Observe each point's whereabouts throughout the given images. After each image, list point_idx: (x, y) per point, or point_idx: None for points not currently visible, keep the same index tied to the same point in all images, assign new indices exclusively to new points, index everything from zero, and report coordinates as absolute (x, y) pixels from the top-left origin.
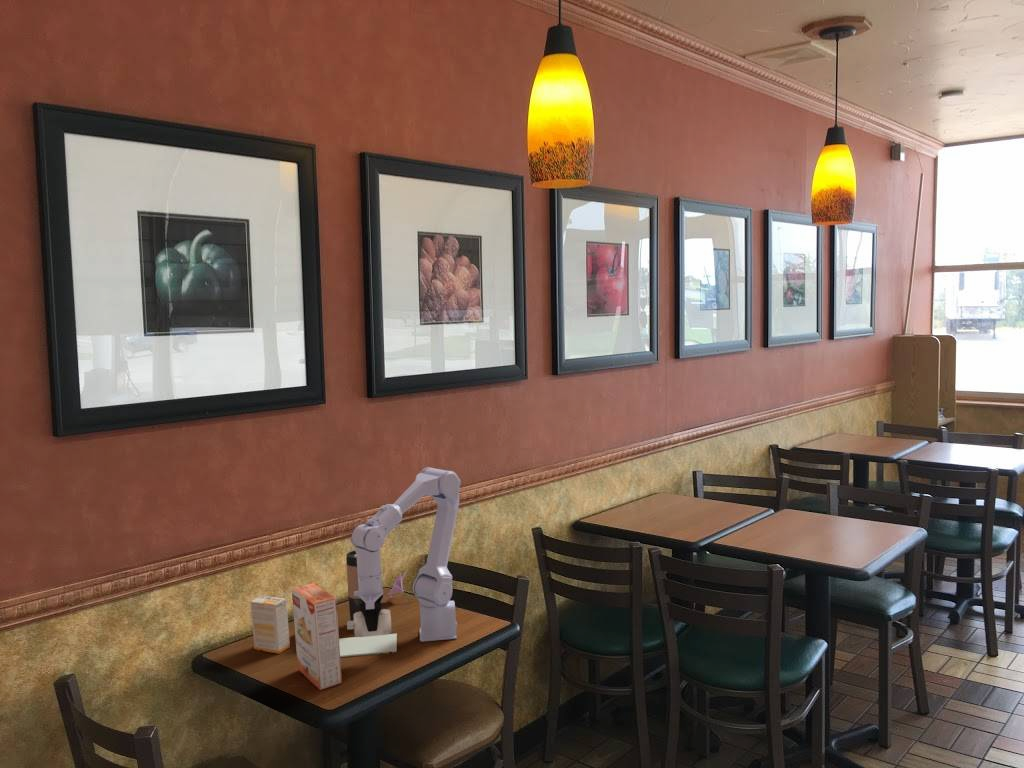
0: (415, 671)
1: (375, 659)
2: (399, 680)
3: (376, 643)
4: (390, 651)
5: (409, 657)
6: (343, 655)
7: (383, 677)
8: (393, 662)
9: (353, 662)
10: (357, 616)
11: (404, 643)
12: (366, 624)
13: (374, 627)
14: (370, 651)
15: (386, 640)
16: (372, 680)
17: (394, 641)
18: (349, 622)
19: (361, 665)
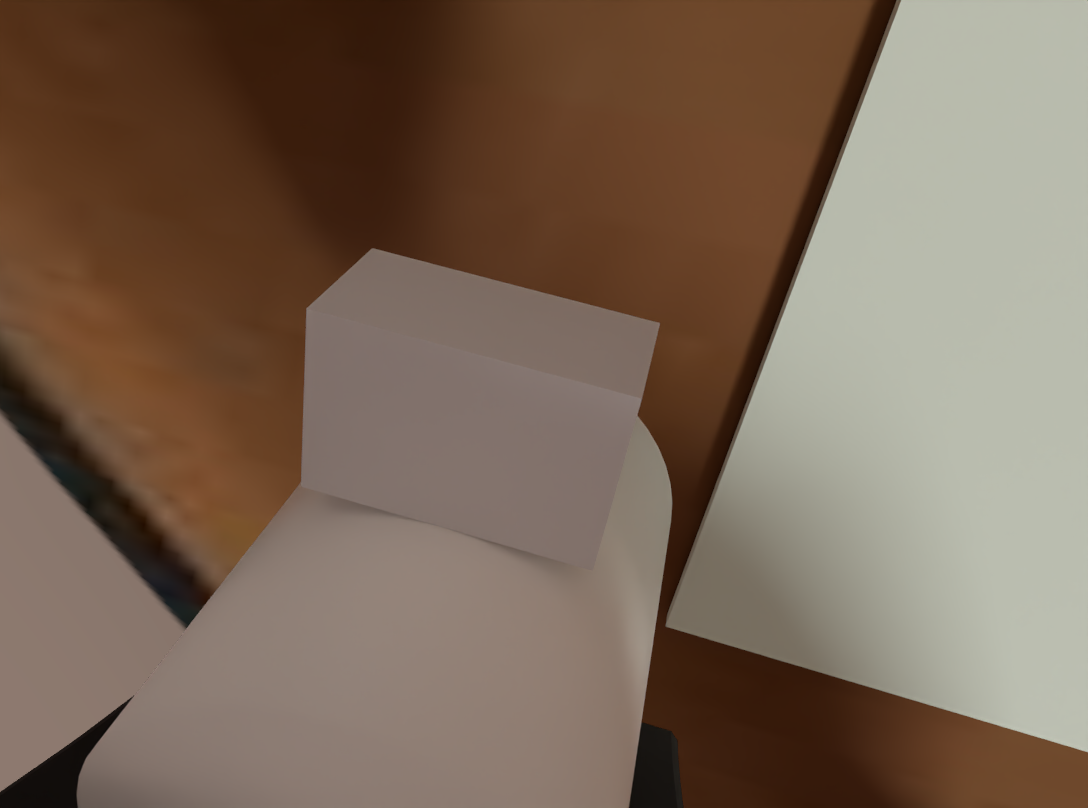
0: (198, 602)
1: None
2: (49, 455)
3: (1017, 527)
4: (681, 577)
5: None
6: (894, 18)
7: (122, 354)
8: None
9: (616, 130)
10: (157, 765)
11: (848, 729)
12: (120, 708)
13: None
14: (800, 404)
15: (1022, 636)
16: (69, 241)
17: (928, 685)
18: (488, 422)
19: (479, 211)
